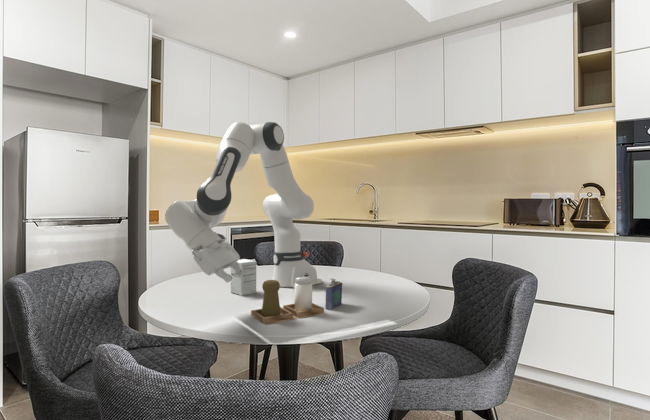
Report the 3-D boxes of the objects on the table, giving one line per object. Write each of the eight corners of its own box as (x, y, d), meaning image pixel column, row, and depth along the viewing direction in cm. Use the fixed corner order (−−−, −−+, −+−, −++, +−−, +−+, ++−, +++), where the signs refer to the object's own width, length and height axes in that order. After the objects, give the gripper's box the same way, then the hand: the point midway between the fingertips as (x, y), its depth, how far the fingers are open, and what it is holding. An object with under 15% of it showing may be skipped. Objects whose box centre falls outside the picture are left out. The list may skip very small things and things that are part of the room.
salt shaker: (306, 307, 130) (306, 275, 130) (315, 312, 126) (315, 278, 125) (291, 310, 127) (291, 277, 127) (300, 314, 123) (300, 280, 122)
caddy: (307, 309, 134) (307, 300, 134) (325, 318, 125) (325, 308, 125) (249, 319, 123) (249, 309, 123) (265, 329, 114) (265, 319, 113)
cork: (284, 315, 122) (284, 279, 122) (274, 320, 117) (274, 283, 116) (267, 312, 125) (268, 277, 124) (256, 318, 119) (256, 281, 119)
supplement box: (230, 292, 157) (230, 260, 156) (245, 289, 162) (245, 258, 162) (241, 296, 152) (241, 262, 151) (256, 292, 157) (257, 260, 157)
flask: (330, 314, 128) (330, 281, 128) (322, 313, 130) (322, 280, 129) (343, 308, 136) (343, 276, 136) (335, 306, 138) (335, 275, 137)
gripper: (196, 241, 112) (229, 277, 111) (225, 234, 133) (254, 264, 131) (181, 256, 113) (214, 292, 112) (212, 247, 133) (241, 277, 132)
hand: (236, 277), depth 122 cm, fingers open, 8 cm apart
